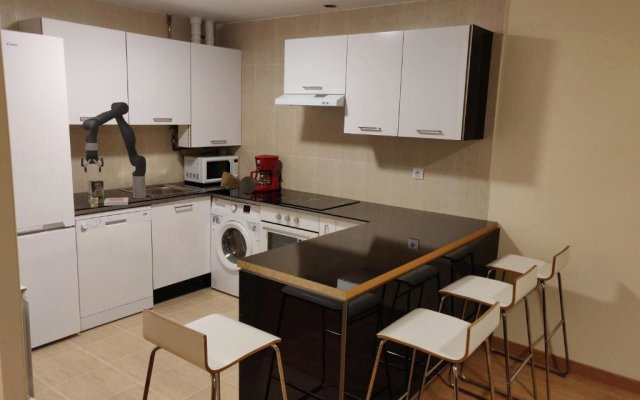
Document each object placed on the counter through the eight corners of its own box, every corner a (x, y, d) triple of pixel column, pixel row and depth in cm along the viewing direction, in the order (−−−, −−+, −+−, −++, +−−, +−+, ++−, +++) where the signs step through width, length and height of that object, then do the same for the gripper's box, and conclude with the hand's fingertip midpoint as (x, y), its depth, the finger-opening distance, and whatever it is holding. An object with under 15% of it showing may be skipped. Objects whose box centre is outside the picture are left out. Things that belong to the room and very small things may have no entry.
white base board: (128, 200, 367) (128, 197, 367) (128, 204, 353) (127, 201, 352) (105, 201, 362) (105, 197, 361) (104, 205, 347) (103, 201, 347)
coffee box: (92, 204, 351) (91, 182, 348) (88, 202, 354) (87, 181, 351) (104, 202, 358) (103, 180, 355) (100, 201, 362) (99, 179, 359)
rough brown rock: (241, 191, 431) (242, 174, 429) (222, 189, 426) (223, 172, 424) (237, 187, 453) (239, 171, 451) (219, 186, 448) (221, 170, 446)
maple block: (98, 205, 346) (97, 197, 345) (97, 207, 342) (97, 198, 341) (91, 206, 344) (91, 197, 343) (90, 207, 340) (90, 198, 339)
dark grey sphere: (248, 195, 405) (249, 178, 402) (236, 193, 412) (236, 176, 410) (259, 193, 417) (259, 176, 414) (247, 191, 424) (247, 174, 421)
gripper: (103, 148, 342) (104, 171, 345) (80, 148, 337) (82, 172, 340) (102, 149, 335) (103, 173, 338) (79, 149, 330) (81, 173, 333)
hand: (92, 172), depth 339 cm, fingers open, 8 cm apart
